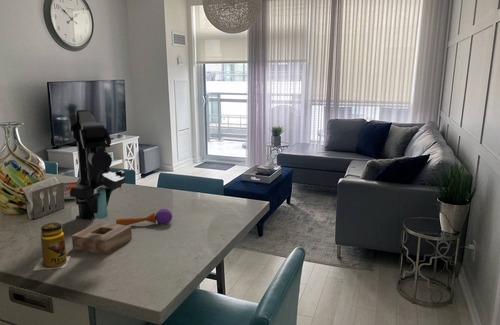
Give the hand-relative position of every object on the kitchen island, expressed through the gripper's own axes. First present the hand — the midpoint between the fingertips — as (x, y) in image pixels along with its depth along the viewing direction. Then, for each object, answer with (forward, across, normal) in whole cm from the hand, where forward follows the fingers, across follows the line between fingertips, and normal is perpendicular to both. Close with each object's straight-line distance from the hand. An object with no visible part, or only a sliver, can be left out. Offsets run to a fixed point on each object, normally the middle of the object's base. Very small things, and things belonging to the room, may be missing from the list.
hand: (100, 210), depth 123 cm
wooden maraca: (+12, +19, -3) cm, 23 cm away
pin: (+2, 0, 0) cm, 2 cm away
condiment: (+12, -17, +4) cm, 21 cm away
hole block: (+11, 0, 0) cm, 11 cm away
